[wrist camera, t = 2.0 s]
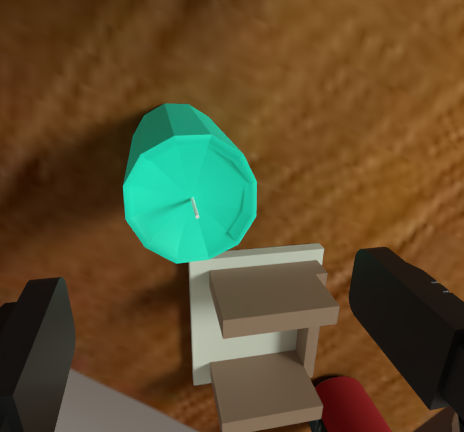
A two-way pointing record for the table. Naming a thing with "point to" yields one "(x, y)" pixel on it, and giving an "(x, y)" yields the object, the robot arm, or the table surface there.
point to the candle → (187, 186)
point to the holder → (260, 333)
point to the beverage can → (346, 408)
